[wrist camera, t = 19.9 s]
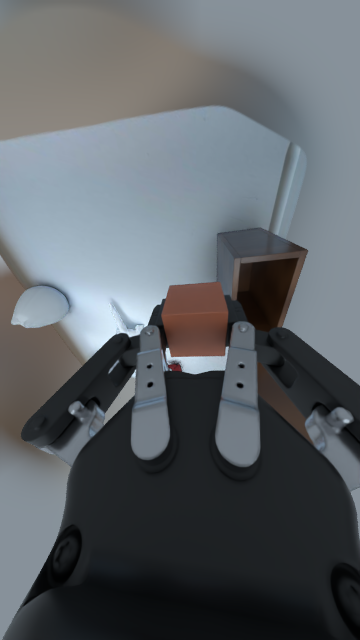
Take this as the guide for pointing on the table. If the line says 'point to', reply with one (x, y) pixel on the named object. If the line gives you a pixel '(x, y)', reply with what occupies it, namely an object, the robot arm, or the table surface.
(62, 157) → the table surface
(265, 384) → the lid
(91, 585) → the robot arm
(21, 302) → the white rounded teardrop
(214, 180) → the table surface
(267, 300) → the chest
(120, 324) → the dinosaur
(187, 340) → the block
